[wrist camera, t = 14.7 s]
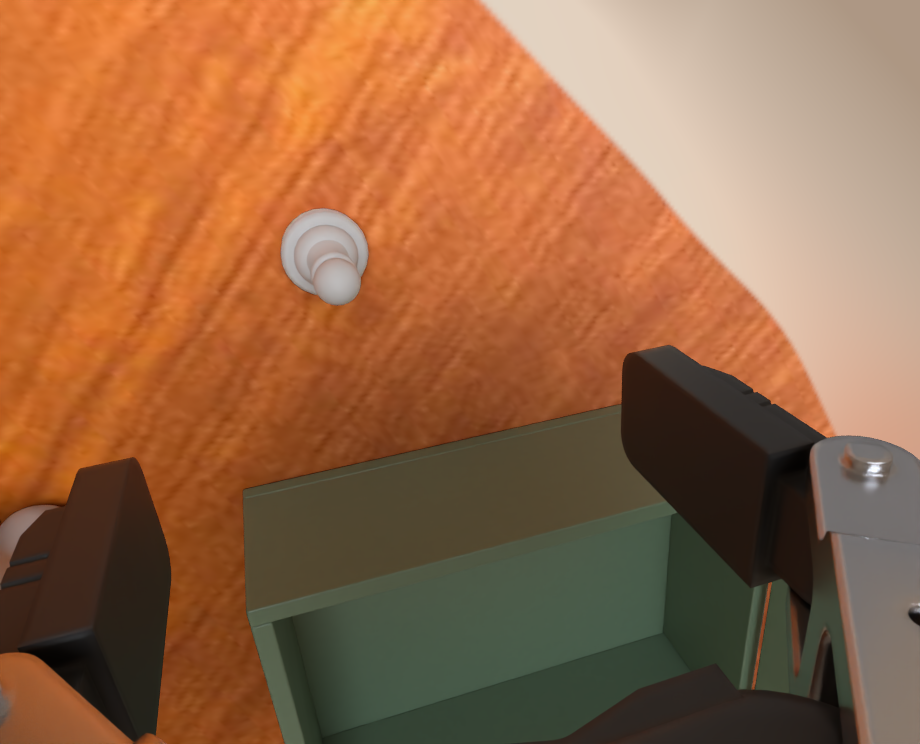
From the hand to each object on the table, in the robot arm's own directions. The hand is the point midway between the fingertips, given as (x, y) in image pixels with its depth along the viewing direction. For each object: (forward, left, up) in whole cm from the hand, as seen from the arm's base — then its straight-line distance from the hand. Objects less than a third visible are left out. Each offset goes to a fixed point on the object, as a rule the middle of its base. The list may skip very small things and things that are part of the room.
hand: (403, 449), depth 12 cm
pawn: (0, 0, -12) cm, 12 cm away
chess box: (+5, -14, -12) cm, 19 cm away
